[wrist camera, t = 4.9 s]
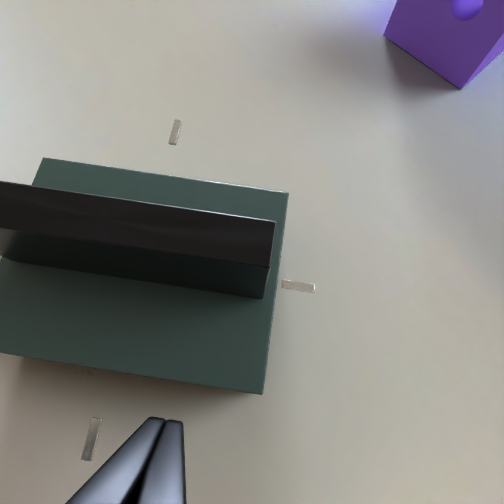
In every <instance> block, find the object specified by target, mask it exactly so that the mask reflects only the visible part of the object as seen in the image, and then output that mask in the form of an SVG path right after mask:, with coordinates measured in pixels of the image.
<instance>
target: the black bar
mask: <svg viewBox="0 0 504 504" xmlns="http://www.w3.org/2000/svg"><path fill="white" fill-rule="evenodd" d="M276 228H277V222H276V221H271V220H264V219H257V218H250V217H243V216H236V215H230V214H223V213H216V212H209V211H202V210H195V209H189V208H182V207H175V206H168V205H161V204H154V203H148V202H141V201H134V200H127V199H120V198H113V197H106V196H100V195H93V194H86V193H79V192H72V191H65V190H59V189H52V188H45V187H38V186H31V185H24V184H18V183H11V182H4V181H0V255H1V256H3V257H5V258H7V259H9V260H11V261H16V262H23V263H29V264H36V265H42V266H49V267H55V268H62V269H68V270H75V271H82V272H88V273H95V274H101V275H108V276H114V277H121V278H127V279H134V280H140V281H147V282H153V283H160V284H167V285H173V286H180V287H186V288H193V289H199V290H206V291H212V292H219V293H225V294H232V295H239V296H245V297H252V298H258V299H263V298H264V294H265V290H266V286H267V281H268V277H269V273H270V269H271V264H272V257H273V250H274V242H275V235H276Z"/></svg>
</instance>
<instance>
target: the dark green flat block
mask: <svg viewBox="0 0 504 504" xmlns="http://www.w3.org/2000/svg"><path fill="white" fill-rule="evenodd" d="M181 125H182V121H181V120H175V121H174V124H173V128H172V132H171V135H170V139H169V144H171V145H176V144H177V140H178V136H179V133H180V129H181ZM32 186H38V187H45V188H52V189H59V190H65V191H72V192H79V193H86V194H93V195H100V196H106V197H113V198H120V199H127V200H134V201H141V202H148V203H154V204H161V205H168V206H175V207H182V208H189V209H195V210H202V211H209V212H216V213H223V214H230V215H236V216H243V217H250V218H257V219H264V220H271V221H276V222H277V228H276V235H275V242H274V250H273V257H272V264H271V269H270V273H269V277H268V281H267V286H266V290H265V294H264V298H263V299H258V298H252V297H245V296H239V295H232V294H225V293H219V292H212V291H206V290H199V289H193V288H186V287H180V286H173V285H167V284H160V283H153V282H147V281H140V280H134V279H127V278H121V277H114V276H108V275H101V274H95V273H88V272H82V271H75V270H68V269H62V268H55V267H49V266H42V265H36V264H29V263H23V262H16V261H11V260H9V259H7V258H5V257H3V256H2V258H1V260H0V353H5V354H11V355H17V356H24V357H30V358H36V359H42V360H48V361H55V362H61V363H67V364H73V365H79V366H86V367H92V368H98V369H104V370H110V371H117V372H123V373H129V374H135V375H142V376H148V377H154V378H160V379H166V380H173V381H179V382H185V383H191V384H197V385H204V386H210V387H216V388H222V389H229V390H235V391H241V392H247V393H253V394H260V395H262V394H263V389H264V381H265V373H266V366H267V358H268V350H269V342H270V335H271V327H272V319H273V312H274V304H275V296H276V289H277V281H278V273H279V265H280V258H281V250H282V242H283V235H284V227H285V219H286V211H287V204H288V196H289V193H287V192H281V191H274V190H267V189H260V188H253V187H246V186H239V185H232V184H225V183H218V182H211V181H204V180H197V179H190V178H183V177H176V176H169V175H162V174H155V173H148V172H141V171H134V170H127V169H120V168H113V167H106V166H99V165H92V164H85V163H79V162H72V161H65V160H58V159H51V158H43V159H42V161H41V164H40V166H39V169H38V171H37V174H36V176H35V178H34V181H33V183H32ZM281 288H284V289H290V290H297V291H303V292H310V293H314V292H315V284H310V283H303V282H297V281H290V280H284V279H283V280H282V287H281ZM102 421H103V419H102V418H96V417H93V418H92V421H91V425H90V428H89V432H88V435H87V439H86V443H85V446H84V450H83V453H82V457H81V460H84V461H92V458H93V455H94V451H95V447H96V443H97V440H98V436H99V432H100V428H101V425H102Z"/></svg>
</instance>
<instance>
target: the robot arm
mask: <svg viewBox="0 0 504 504" xmlns="http://www.w3.org/2000/svg"><path fill="white" fill-rule="evenodd" d="M65 504H186V479H185V455H184V430H183V422H181V421H176V420H167V421H166V420H165V419H164V418H158V417H149V418H148V419H147V420H146V421H145V422H144V423H143V424H142V425H141V426H140V427H139V428H138V429H137V430H136V431H135V432H134V433H133V434H132V435H131V436H130V437H129V438H128V439H127V440H126V441H125V442H124V443H123V444H122V445H121V447H120V448H119V449H118V450H117V451H116V452H115V453H114V454H113V455H112V456H111V457H110V458H109V459H108V460H107V461H106V462H105V463H104V464H103V465H102V466H101V467H100V468H99V469H98V470H97V471H96V472H95V473H94V474H93V475H92V477H91V478H90V479H89V480H88V481H87V482H86V483H85V484H84V485H83V486H82V487H81V488H80V489H79V490H78V491H77V492H76V493H75V494H74V495H73V496H72V497H71V498H70V499H69V500H68V501H67V502H66V503H65Z"/></svg>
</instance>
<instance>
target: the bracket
mask: <svg viewBox="0 0 504 504" xmlns="http://www.w3.org/2000/svg"><path fill="white" fill-rule="evenodd" d="M383 36H385V37H386V38H388V39H389V40H391V41H392V42H393V43H395V44H396V45H398V46H399V47H401V48H402V49H403V50H405V51H406V52H408V53H409V54H411V55H412V56H413V57H415V58H416V59H418V60H419V61H421V62H422V63H423V64H425V65H426V66H428V67H429V68H431V69H432V70H433V71H435V72H436V73H438V74H439V75H441V76H442V77H443V78H445V79H446V80H448V81H449V82H451V83H452V84H453V85H455V86H456V87H458V88H459V89H462V88H463V87H464V86H465V85H467V84H468V83H469V82H470V81H471V80H472V79H473V78H474V77H475V76H476V75H477V74H478V73H480V72H481V71H482V70H483V69H484V68H485V67H486V66H487V65H488V64H489V63H490V62H491V61H492V60H494V59H495V58H496V57H497V56H498V55H499V54H500V53H501V52H502V51H503V50H504V0H397V3H396V5H395V8H394V10H393V13H392V15H391V17H390V20H389V22H388V25H387V27H386V30H385V32H384V35H383Z"/></svg>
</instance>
